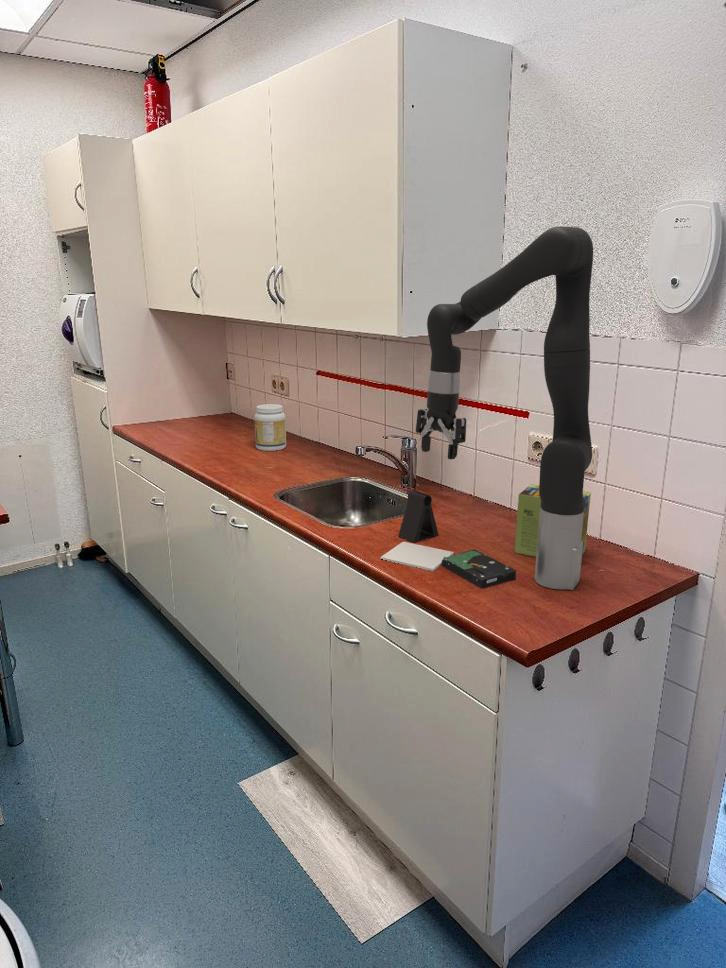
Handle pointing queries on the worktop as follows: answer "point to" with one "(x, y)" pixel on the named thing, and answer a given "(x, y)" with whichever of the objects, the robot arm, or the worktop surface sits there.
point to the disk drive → (479, 568)
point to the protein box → (537, 520)
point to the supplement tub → (270, 427)
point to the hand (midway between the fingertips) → (438, 455)
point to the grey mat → (417, 556)
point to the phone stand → (418, 518)
